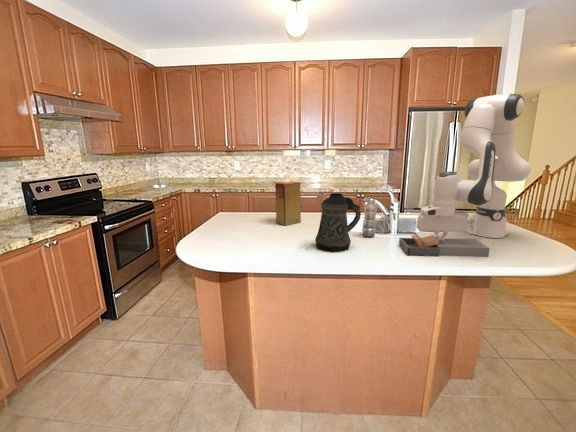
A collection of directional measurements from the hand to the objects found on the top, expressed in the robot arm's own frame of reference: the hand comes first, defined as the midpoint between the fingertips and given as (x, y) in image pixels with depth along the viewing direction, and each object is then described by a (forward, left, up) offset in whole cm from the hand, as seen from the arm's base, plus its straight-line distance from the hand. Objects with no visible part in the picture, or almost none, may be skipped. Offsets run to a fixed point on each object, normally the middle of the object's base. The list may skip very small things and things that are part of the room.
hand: (439, 240), depth 130 cm
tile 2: (0, -4, -1) cm, 4 cm away
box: (0, -9, -5) cm, 10 cm away
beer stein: (-3, -45, -5) cm, 46 cm away
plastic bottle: (-20, -27, -5) cm, 34 cm away
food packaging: (-45, -72, -5) cm, 85 cm away
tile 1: (0, -8, -1) cm, 8 cm away
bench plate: (0, +8, -5) cm, 9 cm away
